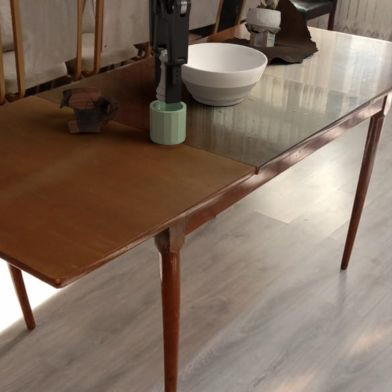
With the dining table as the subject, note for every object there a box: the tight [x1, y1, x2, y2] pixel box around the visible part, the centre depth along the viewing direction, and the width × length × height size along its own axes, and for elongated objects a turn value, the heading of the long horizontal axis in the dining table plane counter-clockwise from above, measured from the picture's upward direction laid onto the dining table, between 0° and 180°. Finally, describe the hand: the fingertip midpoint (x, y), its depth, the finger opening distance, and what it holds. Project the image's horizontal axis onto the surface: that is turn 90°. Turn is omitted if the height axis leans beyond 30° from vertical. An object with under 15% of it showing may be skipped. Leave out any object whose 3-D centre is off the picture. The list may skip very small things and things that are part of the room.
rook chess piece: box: [155, 50, 168, 102], centre depth 110 cm, size 4×4×8 cm
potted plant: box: [221, 0, 320, 67], centre depth 155 cm, size 20×19×25 cm
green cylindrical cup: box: [149, 99, 187, 146], centre depth 116 cm, size 7×7×6 cm
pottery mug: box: [59, 86, 120, 134], centre depth 119 cm, size 12×10×8 cm
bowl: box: [181, 42, 267, 107], centre depth 132 cm, size 19×19×8 cm
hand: (167, 97), depth 113 cm, fingers closed on rook chess piece, 4 cm apart
